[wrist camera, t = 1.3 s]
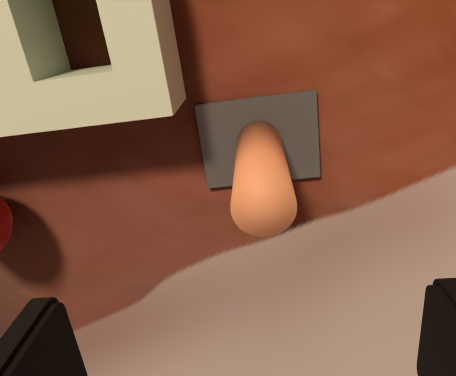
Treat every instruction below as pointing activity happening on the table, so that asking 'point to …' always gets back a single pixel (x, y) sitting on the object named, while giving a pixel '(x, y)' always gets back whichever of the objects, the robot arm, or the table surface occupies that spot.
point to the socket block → (87, 77)
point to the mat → (259, 111)
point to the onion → (5, 223)
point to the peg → (262, 182)
